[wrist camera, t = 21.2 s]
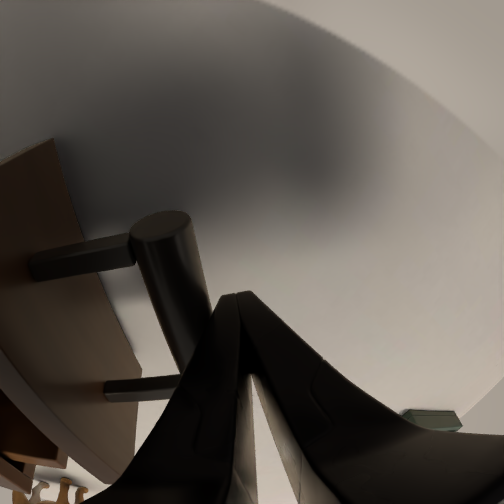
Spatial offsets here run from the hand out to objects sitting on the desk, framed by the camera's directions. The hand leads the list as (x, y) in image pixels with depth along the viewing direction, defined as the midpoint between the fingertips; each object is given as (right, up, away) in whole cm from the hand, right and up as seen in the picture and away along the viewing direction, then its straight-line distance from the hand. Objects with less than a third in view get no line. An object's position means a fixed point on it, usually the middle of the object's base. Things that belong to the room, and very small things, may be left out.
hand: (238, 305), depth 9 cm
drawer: (-10, 0, +2) cm, 10 cm away
